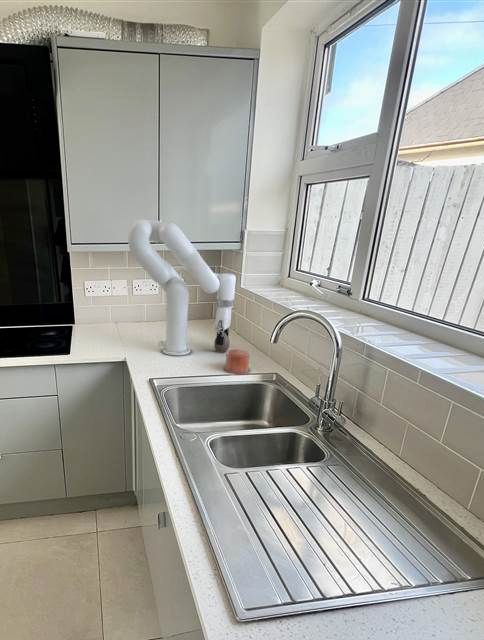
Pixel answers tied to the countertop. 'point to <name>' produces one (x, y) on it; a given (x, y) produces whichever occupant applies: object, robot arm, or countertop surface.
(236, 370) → the upturned mug
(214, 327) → the robot arm
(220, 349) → the vase
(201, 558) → the countertop surface
